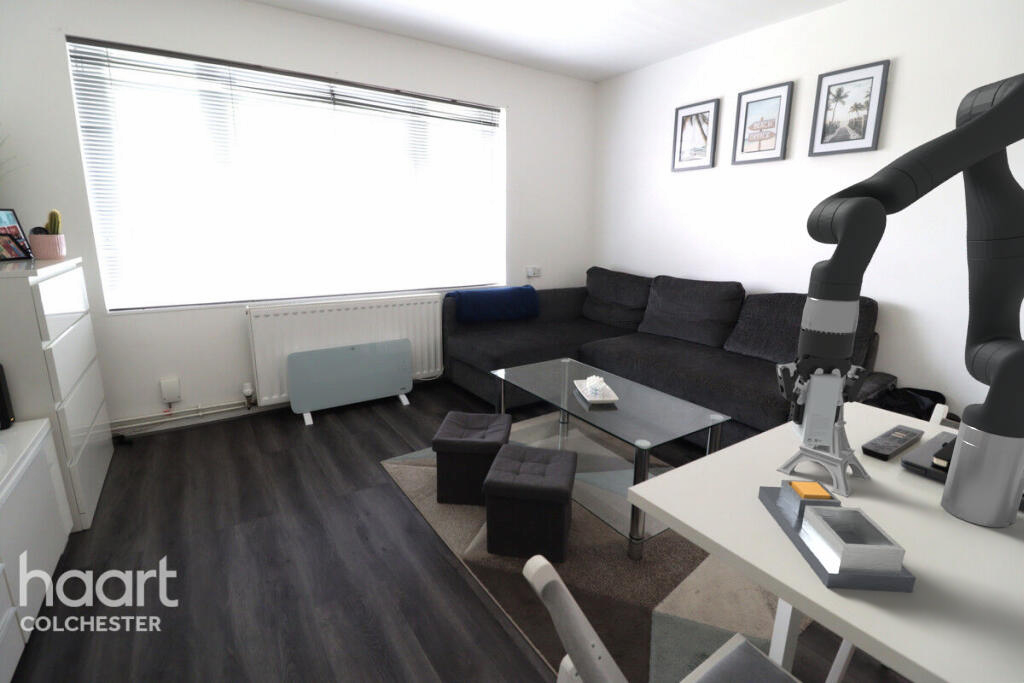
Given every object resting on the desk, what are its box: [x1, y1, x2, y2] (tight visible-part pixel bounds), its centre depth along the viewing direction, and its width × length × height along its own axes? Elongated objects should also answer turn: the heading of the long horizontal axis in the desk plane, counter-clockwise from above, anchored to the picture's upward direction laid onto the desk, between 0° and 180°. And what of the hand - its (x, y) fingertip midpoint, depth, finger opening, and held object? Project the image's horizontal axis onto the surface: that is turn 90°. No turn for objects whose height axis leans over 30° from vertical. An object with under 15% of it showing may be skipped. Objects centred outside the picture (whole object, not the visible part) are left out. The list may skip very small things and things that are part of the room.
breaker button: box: [791, 481, 830, 500], centre depth 87 cm, size 4×4×3 cm
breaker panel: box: [757, 479, 917, 593], centre depth 82 cm, size 12×24×6 cm, turn 176°
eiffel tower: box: [776, 374, 871, 498], centre depth 100 cm, size 13×13×30 cm
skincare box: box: [791, 374, 841, 446], centre depth 82 cm, size 6×4×12 cm
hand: (812, 423), depth 82 cm, fingers closed on skincare box, 4 cm apart
